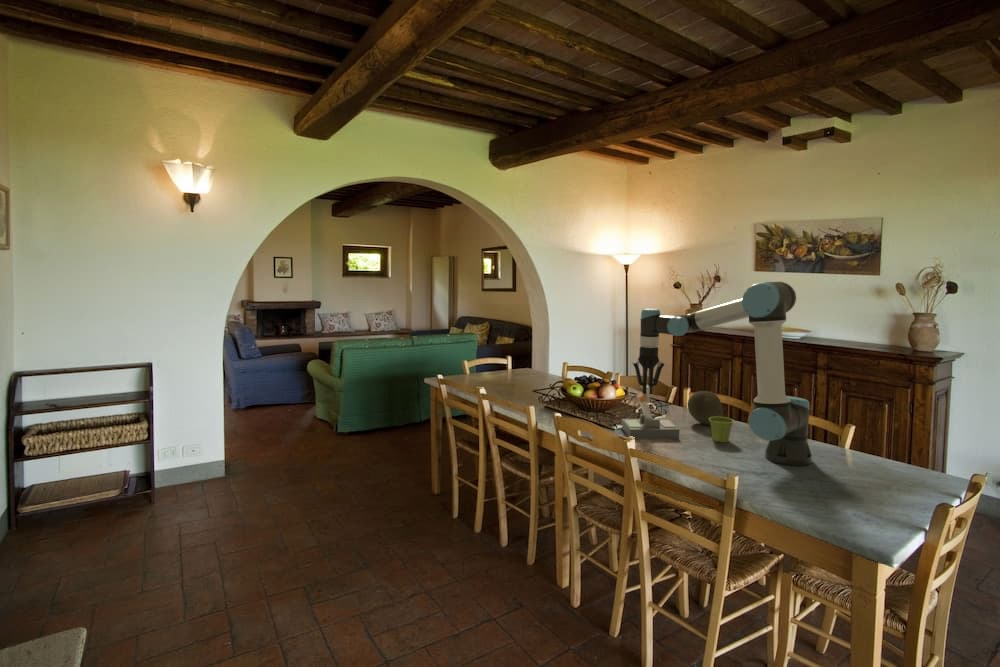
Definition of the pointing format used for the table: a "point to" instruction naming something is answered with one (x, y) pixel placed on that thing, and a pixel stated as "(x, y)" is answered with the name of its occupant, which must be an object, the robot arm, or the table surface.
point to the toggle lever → (644, 405)
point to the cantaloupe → (704, 406)
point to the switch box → (650, 428)
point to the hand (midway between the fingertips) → (646, 401)
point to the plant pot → (721, 428)
